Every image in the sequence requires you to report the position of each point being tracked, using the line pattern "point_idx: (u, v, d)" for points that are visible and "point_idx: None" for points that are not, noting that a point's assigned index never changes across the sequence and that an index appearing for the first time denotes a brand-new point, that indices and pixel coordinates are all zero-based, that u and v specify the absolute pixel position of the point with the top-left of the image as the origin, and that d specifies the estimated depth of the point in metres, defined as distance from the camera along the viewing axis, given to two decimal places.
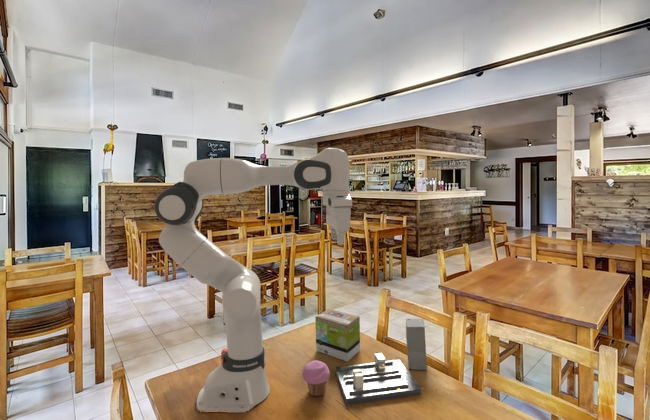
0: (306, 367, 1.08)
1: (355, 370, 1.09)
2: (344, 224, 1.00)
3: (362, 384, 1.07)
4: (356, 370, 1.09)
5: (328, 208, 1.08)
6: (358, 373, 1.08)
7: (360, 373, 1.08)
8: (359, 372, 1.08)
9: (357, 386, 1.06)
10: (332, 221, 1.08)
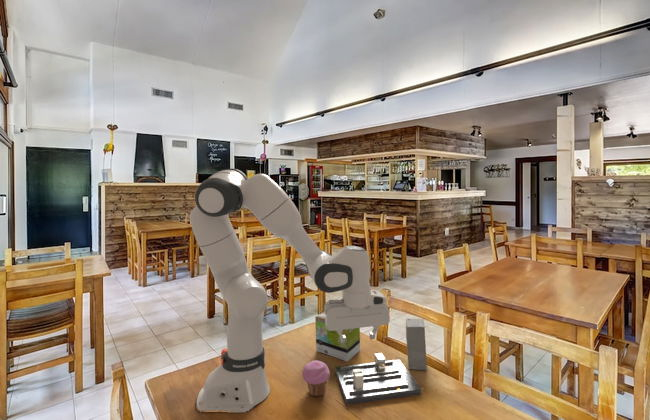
0: (306, 367, 1.08)
1: (355, 370, 1.09)
2: None
3: (362, 384, 1.07)
4: (356, 370, 1.09)
5: (363, 309, 1.04)
6: (358, 373, 1.08)
7: (360, 373, 1.08)
8: (359, 372, 1.08)
9: (357, 386, 1.06)
10: (364, 320, 1.05)
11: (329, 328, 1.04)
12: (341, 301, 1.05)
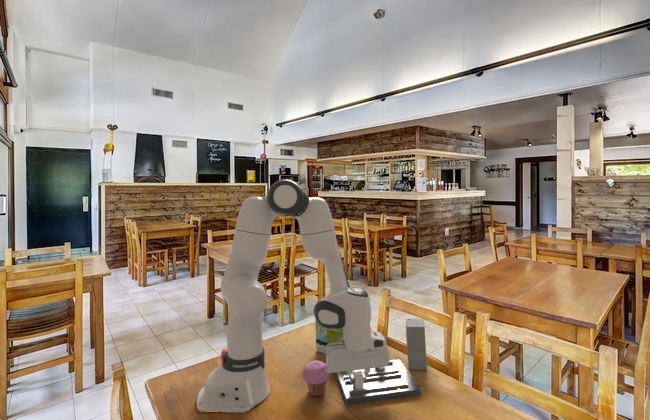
0: (306, 367, 1.08)
1: (355, 370, 1.09)
2: None
3: (362, 384, 1.07)
4: (356, 370, 1.09)
5: (363, 351, 1.05)
6: (358, 373, 1.08)
7: (360, 373, 1.08)
8: (359, 372, 1.08)
9: (357, 386, 1.06)
10: (364, 362, 1.06)
11: (330, 370, 1.05)
12: (342, 343, 1.06)
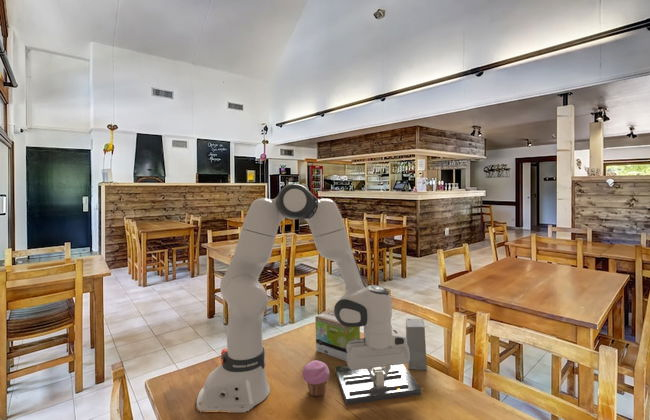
0: (306, 367, 1.08)
1: (375, 368, 1.11)
2: None
3: (383, 381, 1.08)
4: (376, 368, 1.10)
5: (384, 349, 1.06)
6: (378, 371, 1.09)
7: (380, 371, 1.09)
8: (379, 370, 1.09)
9: (378, 383, 1.08)
10: (385, 359, 1.08)
11: (351, 367, 1.06)
12: (363, 341, 1.07)
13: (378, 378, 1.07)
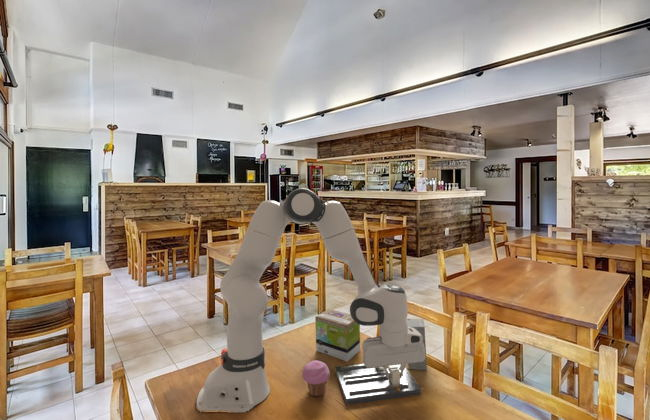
0: (306, 367, 1.08)
1: (391, 366, 1.11)
2: None
3: (399, 379, 1.09)
4: (392, 366, 1.11)
5: (400, 347, 1.07)
6: (394, 369, 1.10)
7: (396, 369, 1.10)
8: (395, 368, 1.10)
9: (394, 381, 1.08)
10: (401, 357, 1.08)
11: (367, 365, 1.07)
12: (379, 339, 1.08)
13: (394, 376, 1.08)
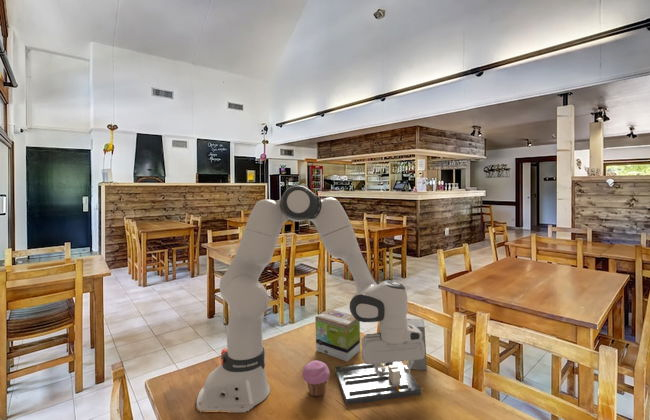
0: (306, 367, 1.08)
1: (391, 366, 1.11)
2: None
3: (399, 379, 1.09)
4: (392, 366, 1.11)
5: (400, 344, 1.06)
6: (394, 369, 1.10)
7: (396, 369, 1.10)
8: (395, 368, 1.10)
9: (394, 381, 1.08)
10: (400, 354, 1.08)
11: (366, 362, 1.06)
12: (378, 335, 1.07)
13: (394, 376, 1.08)
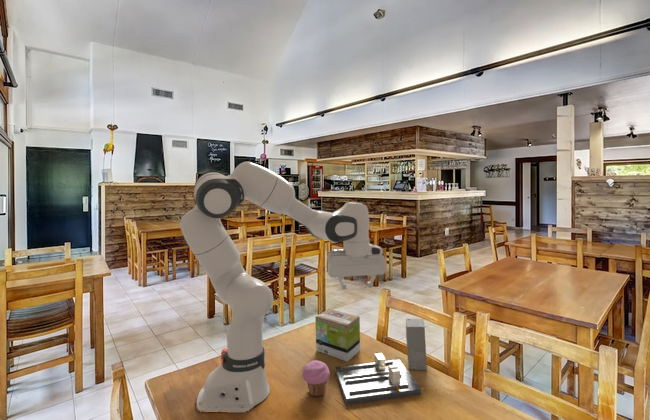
0: (306, 367, 1.08)
1: (391, 366, 1.11)
2: None
3: (399, 379, 1.09)
4: (392, 366, 1.11)
5: (362, 258, 1.15)
6: (394, 369, 1.10)
7: (396, 369, 1.10)
8: (395, 368, 1.10)
9: (394, 381, 1.08)
10: (363, 269, 1.17)
11: (331, 274, 1.15)
12: (342, 251, 1.17)
13: (394, 376, 1.08)
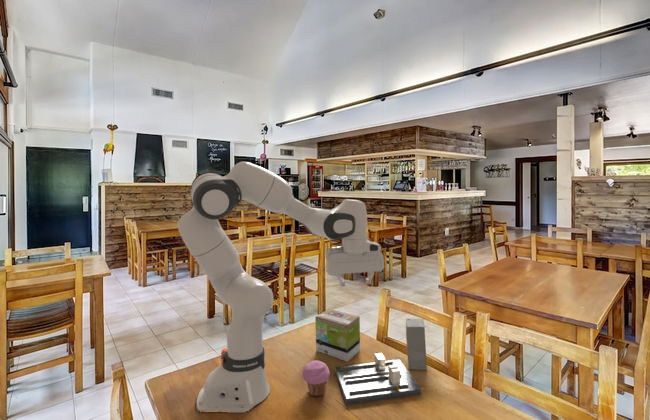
0: (306, 367, 1.08)
1: (391, 366, 1.11)
2: None
3: (399, 379, 1.09)
4: (392, 366, 1.11)
5: (360, 255, 1.16)
6: (394, 369, 1.10)
7: (396, 369, 1.10)
8: (395, 368, 1.10)
9: (394, 381, 1.08)
10: (361, 266, 1.17)
11: (330, 272, 1.16)
12: (341, 248, 1.17)
13: (394, 376, 1.08)
